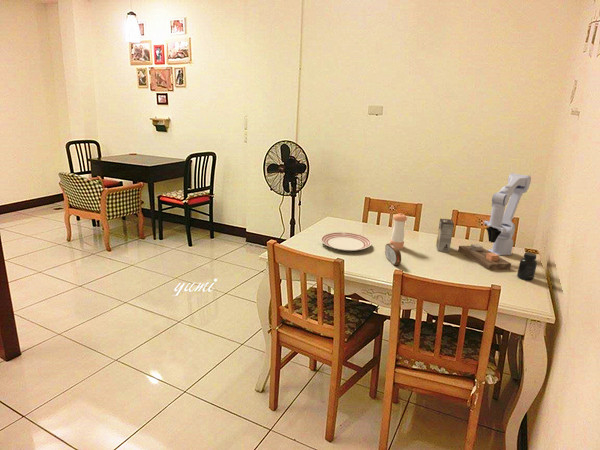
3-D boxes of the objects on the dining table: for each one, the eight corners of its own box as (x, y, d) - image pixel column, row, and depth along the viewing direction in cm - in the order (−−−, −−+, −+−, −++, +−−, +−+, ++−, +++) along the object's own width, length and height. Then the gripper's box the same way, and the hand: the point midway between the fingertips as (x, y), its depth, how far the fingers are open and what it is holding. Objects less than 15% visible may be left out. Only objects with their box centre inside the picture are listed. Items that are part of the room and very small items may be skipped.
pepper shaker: (388, 247, 215) (392, 213, 210) (390, 243, 222) (395, 210, 216) (402, 249, 213) (406, 215, 207) (404, 245, 219) (408, 212, 214)
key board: (477, 250, 218) (478, 245, 217) (510, 269, 193) (511, 263, 192) (458, 251, 215) (458, 245, 214) (488, 270, 191) (489, 264, 190)
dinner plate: (366, 258, 199) (366, 251, 198) (314, 249, 207) (314, 243, 206) (374, 241, 224) (375, 236, 223) (327, 234, 232) (328, 229, 231)
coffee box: (435, 245, 223) (439, 218, 218) (447, 246, 221) (451, 219, 217) (437, 250, 214) (442, 222, 209) (449, 252, 213) (454, 223, 208)
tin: (400, 267, 189) (403, 251, 186) (394, 267, 188) (396, 251, 186) (389, 256, 203) (390, 240, 200) (383, 256, 202) (385, 240, 200)
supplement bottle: (513, 274, 187) (518, 251, 183) (527, 275, 188) (532, 251, 184) (522, 281, 180) (528, 256, 177) (536, 281, 181) (542, 256, 178)
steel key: (477, 249, 212) (478, 244, 211) (481, 252, 208) (482, 246, 207) (470, 249, 211) (471, 244, 210) (474, 252, 207) (475, 246, 207)
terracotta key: (492, 258, 200) (493, 252, 199) (497, 261, 196) (499, 255, 195) (485, 258, 199) (486, 253, 198) (490, 261, 195) (491, 255, 194)
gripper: (480, 212, 205) (476, 237, 209) (499, 220, 192) (494, 246, 196) (492, 212, 207) (488, 237, 211) (512, 220, 193) (506, 246, 197)
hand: (491, 241), depth 203 cm, fingers closed
